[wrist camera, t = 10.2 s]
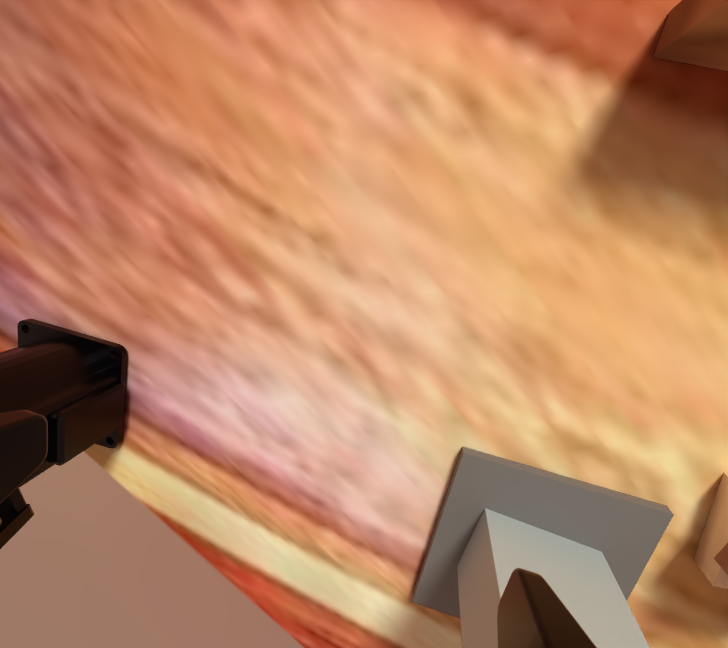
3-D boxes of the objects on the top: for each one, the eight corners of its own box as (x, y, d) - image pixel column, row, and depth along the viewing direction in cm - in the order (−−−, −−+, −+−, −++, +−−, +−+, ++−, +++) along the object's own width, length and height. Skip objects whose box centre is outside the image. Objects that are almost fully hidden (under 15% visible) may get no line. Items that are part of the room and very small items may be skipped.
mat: (412, 592, 23) (412, 602, 23) (462, 446, 21) (463, 453, 20) (588, 651, 22) (592, 662, 22) (666, 506, 19) (673, 514, 19)
